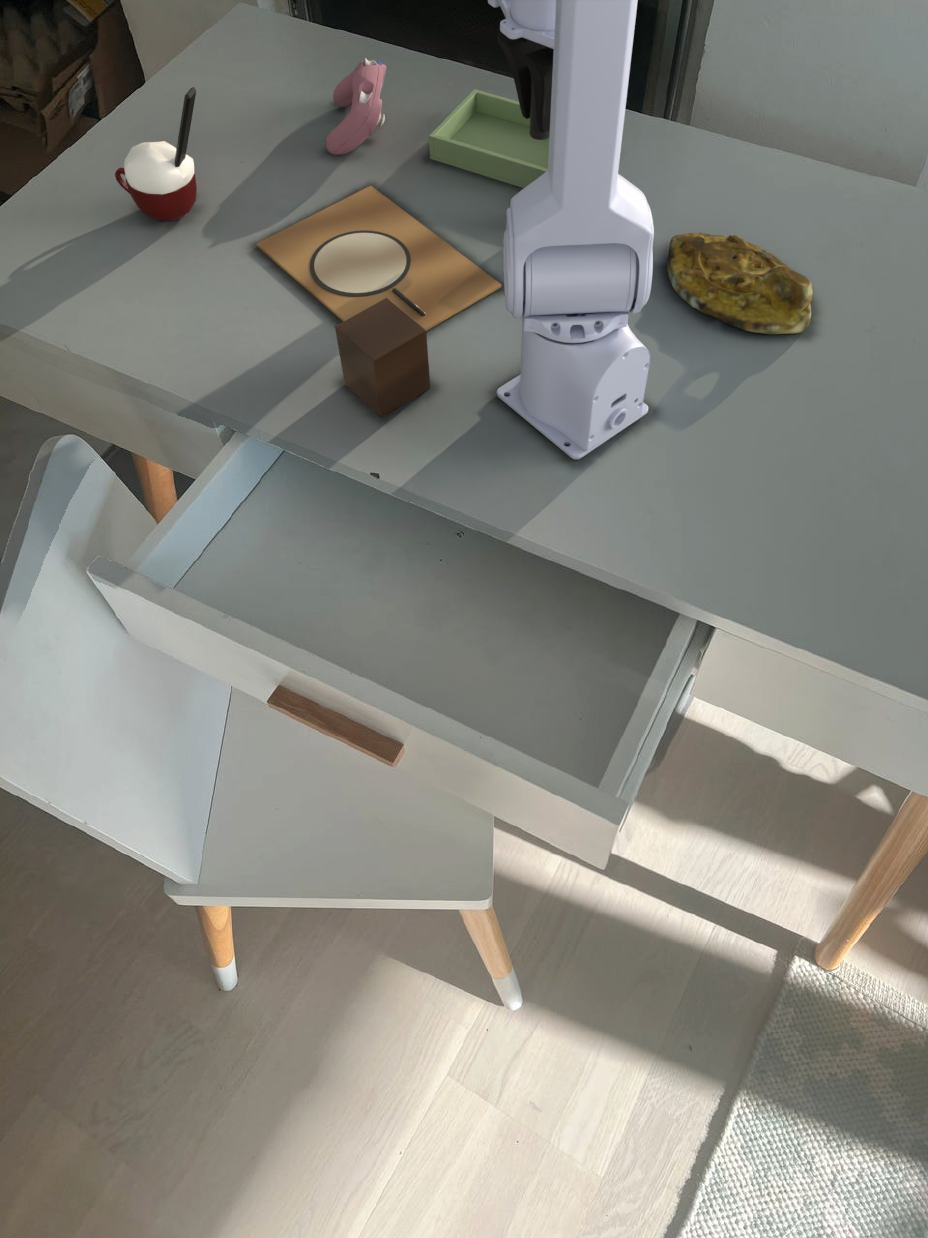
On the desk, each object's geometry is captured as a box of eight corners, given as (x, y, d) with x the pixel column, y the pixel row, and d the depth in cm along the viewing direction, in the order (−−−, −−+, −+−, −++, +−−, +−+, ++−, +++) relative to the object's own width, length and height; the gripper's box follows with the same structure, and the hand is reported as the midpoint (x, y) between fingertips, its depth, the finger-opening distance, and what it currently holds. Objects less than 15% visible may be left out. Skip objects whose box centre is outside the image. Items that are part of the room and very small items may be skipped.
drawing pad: (501, 287, 87) (501, 281, 87) (382, 356, 83) (382, 351, 82) (370, 187, 95) (370, 182, 95) (256, 246, 91) (255, 241, 90)
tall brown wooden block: (430, 388, 81) (426, 329, 76) (381, 418, 79) (373, 360, 74) (393, 355, 83) (386, 296, 78) (344, 384, 81) (334, 326, 76)
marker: (556, 135, 90) (560, 68, 85) (537, 142, 89) (540, 76, 84) (543, 124, 91) (546, 57, 86) (524, 131, 90) (526, 65, 85)
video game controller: (365, 172, 99) (392, 110, 94) (321, 153, 97) (346, 89, 92) (372, 115, 104) (397, 54, 99) (330, 96, 103) (354, 33, 97)
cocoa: (115, 210, 94) (69, 84, 84) (163, 177, 97) (125, 51, 87) (186, 247, 91) (147, 121, 81) (234, 212, 94) (202, 85, 84)
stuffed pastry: (633, 283, 88) (773, 365, 82) (635, 240, 84) (782, 322, 78) (701, 224, 91) (842, 300, 85) (706, 180, 87) (855, 256, 81)
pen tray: (609, 151, 97) (611, 127, 95) (568, 202, 93) (570, 178, 91) (474, 111, 102) (474, 88, 100) (429, 158, 97) (428, 135, 95)
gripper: (455, -70, 80) (460, 96, 91) (559, 7, 73) (550, 176, 85) (528, -94, 82) (524, 72, 93) (636, -21, 75) (618, 148, 87)
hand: (541, 120), depth 89 cm, fingers closed on marker, 2 cm apart
